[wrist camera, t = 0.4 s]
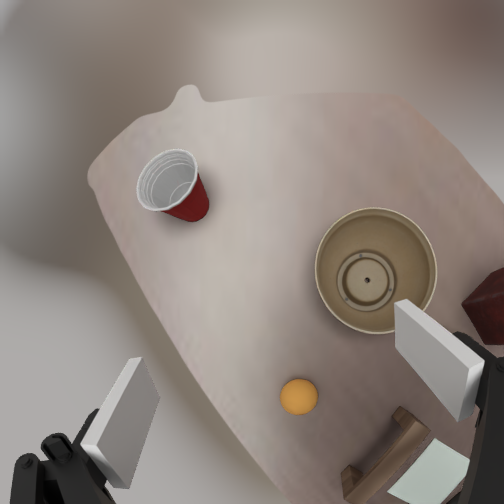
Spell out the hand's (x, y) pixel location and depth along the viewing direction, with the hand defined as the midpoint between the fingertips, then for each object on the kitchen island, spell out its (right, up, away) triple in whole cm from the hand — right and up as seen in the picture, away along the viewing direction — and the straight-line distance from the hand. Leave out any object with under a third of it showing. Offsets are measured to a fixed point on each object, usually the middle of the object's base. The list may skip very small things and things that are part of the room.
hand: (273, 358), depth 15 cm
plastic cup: (-12, +13, +42) cm, 45 cm away
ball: (+6, -16, +27) cm, 32 cm away
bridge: (+19, -25, +25) cm, 40 cm away
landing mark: (+30, -33, +20) cm, 49 cm away
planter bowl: (+17, +1, +32) cm, 36 cm away
